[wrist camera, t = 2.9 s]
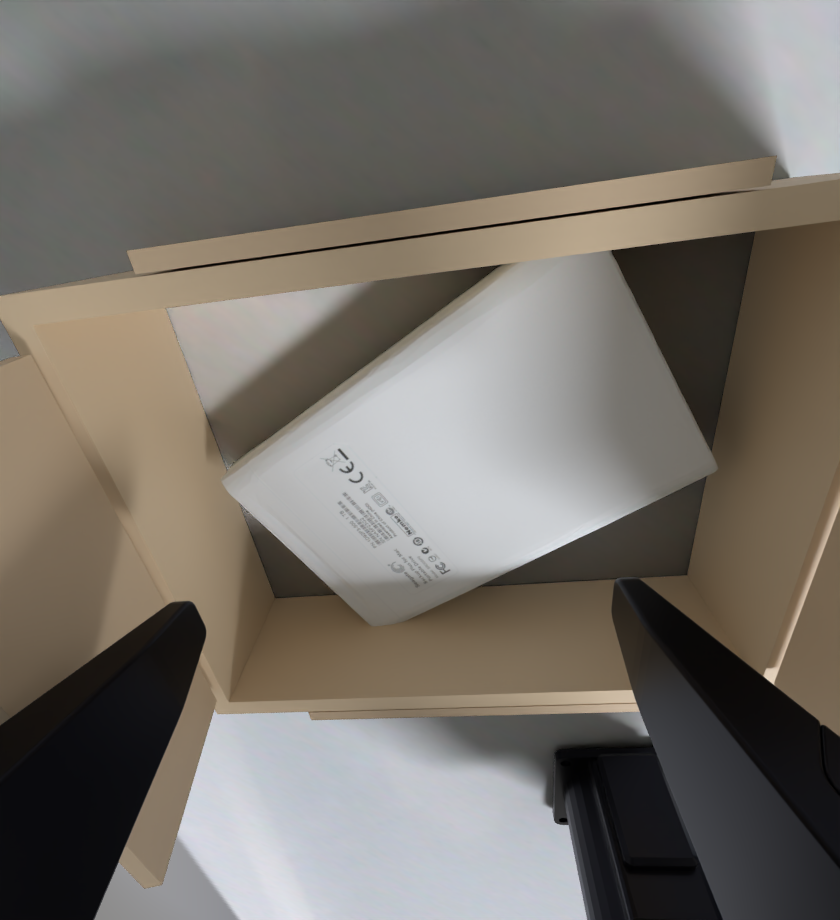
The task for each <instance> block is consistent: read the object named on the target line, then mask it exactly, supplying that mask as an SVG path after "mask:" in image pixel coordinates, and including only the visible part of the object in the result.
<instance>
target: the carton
mask: <svg viewBox="0 0 840 920" xmlns="http://www.w3.org/2000/svg"><path fill="white" fill-rule="evenodd" d="M776 158H777V156H771V157H764V158H757V159H750V160H744V161H737V162H730V163H723V164H716V165H709V166H703V167H696V168H689V169H682V170H675V171H668V172H662V173H655V174H648V175H641V176H634V177H627V178H620V179H614V180H607V181H600V182H593V183H586V184H579V185H573V186H566V187H559V188H552V189H545V190H538V191H532V192H525V193H518V194H511V195H504V196H497V197H491V198H484V199H477V200H470V201H463V202H456V203H450V204H443V205H436V206H429V207H422V208H415V209H409V210H402V211H395V212H388V213H381V214H374V215H368V216H361V217H354V218H347V219H340V220H333V221H327V222H320V223H313V224H306V225H299V226H292V227H286V228H279V229H272V230H265V231H258V232H251V233H245V234H238V235H231V236H224V237H217V238H210V239H204V240H197V241H190V242H183V243H176V244H169V245H162V246H156V247H149V248H142V249H135V250H128V251H126V252H127V254H128V257H129V259H130V262H131V264H132V267H133V269H134V270H133V271H127V272H122V273H117V274H111V275H106V276H101V277H96V278H90V279H85V280H80V281H74V282H69V283H64V284H59V285H53V286H48V287H43V288H37V289H32V290H27V291H22V292H16V293H11V294H6V295H0V320H1V321H2V323H3V325H4V327H5V329H6V331H7V332H8V334H9V336H10V338H11V340H12V341H13V343H14V345H15V347H16V349H17V351H18V352H19V354H20V356H24V355H31V356H32V358H33V360H34V362H35V364H36V365H37V367H38V369H39V371H40V373H41V375H42V377H43V378H44V380H45V382H46V384H47V386H48V388H49V390H50V391H51V393H52V395H53V397H54V399H55V401H56V403H57V404H58V406H59V408H60V410H61V412H62V414H63V416H64V417H65V419H66V421H67V423H68V425H69V427H70V429H71V430H72V432H73V434H74V436H75V438H76V440H77V442H78V443H79V445H80V447H81V449H82V451H83V453H84V455H85V456H86V458H87V460H88V462H89V464H90V466H91V468H92V469H93V471H94V473H95V475H96V477H97V479H98V481H99V482H100V484H101V486H102V488H103V490H104V492H105V494H106V495H107V497H108V499H109V501H110V503H111V505H112V507H113V508H114V510H115V512H116V514H117V516H118V518H119V520H120V521H121V523H122V525H123V527H124V529H125V531H126V533H127V534H128V536H129V538H130V540H131V542H132V544H133V546H134V547H135V549H136V551H137V553H138V555H139V557H140V559H141V560H142V562H143V564H144V566H145V568H146V570H147V572H148V573H149V575H150V577H151V579H152V581H153V583H154V585H155V586H156V588H157V590H158V592H159V594H160V596H161V598H162V599H163V601H164V603H165V605H168V604H169V603H171V602H175V601H191V602H193V603H194V604H195V606H196V608H197V610H198V612H199V614H200V616H201V618H202V620H203V622H204V624H205V626H206V639H205V643H204V646H203V649H202V652H201V655H200V658H199V662H198V666H199V668H200V670H201V672H202V674H203V676H204V678H205V679H206V681H207V683H208V685H209V687H210V689H211V691H212V692H213V694H214V696H215V698H216V700H217V702H216V705H215V711H216V712H217V714H244V713H279V712H308V713H309V715H310V718H311V720H336V719H375V718H414V717H452V716H491V715H530V714H569V713H608V712H640V711H639V708H638V706H637V703H636V700H635V697H634V694H633V691H632V687H631V684H630V680H629V677H628V673H627V670H626V666H625V663H624V659H623V655H622V652H621V648H620V645H619V641H618V638H617V634H616V630H615V627H614V623H613V619H612V613H611V607H612V597H613V588H614V582H615V580H616V579H612V580H594V581H576V582H558V583H540V584H522V585H504V586H486V587H476V588H474V589H472V590H470V591H468V592H466V593H464V594H462V595H459V596H457V597H455V598H453V599H451V600H449V601H447V602H445V603H442V604H440V605H438V606H436V607H434V608H432V609H430V610H428V611H426V612H424V613H421V614H419V615H417V616H415V617H413V618H411V619H409V620H407V621H405V622H401V623H396V624H391V625H384V626H370V625H369V624H368V623H367V622H366V621H365V620H364V619H363V618H362V617H361V616H360V615H359V614H358V613H357V612H355V611H354V610H353V609H352V608H351V607H350V606H349V605H348V604H347V603H346V602H345V601H344V600H343V599H342V598H341V597H340V596H339V595H325V596H307V597H289V598H275V597H274V594H273V591H272V589H271V586H270V583H269V581H268V578H267V576H266V573H265V570H264V568H263V565H262V562H261V560H260V557H259V554H258V552H257V549H256V546H255V544H254V541H253V539H252V536H251V533H250V531H249V528H248V525H247V523H246V520H245V517H244V515H243V512H242V509H241V507H240V504H239V502H238V501H237V500H235V499H234V498H233V497H232V496H231V495H230V494H229V493H228V491H227V490H226V489H225V487H224V486H223V484H222V482H221V478H222V477H223V476H224V475H225V474H226V472H227V470H226V467H225V464H224V462H223V459H222V457H221V454H220V451H219V449H218V446H217V443H216V441H215V438H214V435H213V433H212V430H211V427H210V425H209V422H208V419H207V417H206V414H205V412H204V409H203V406H202V404H201V401H200V398H199V396H198V393H197V390H196V388H195V385H194V382H193V380H192V377H191V375H190V372H189V369H188V367H187V364H186V361H185V359H184V356H183V353H182V351H181V348H180V345H179V343H178V340H177V337H176V335H175V332H174V330H173V327H172V324H171V322H170V319H169V316H168V314H167V311H166V308H171V307H179V306H186V305H194V304H202V303H209V302H217V301H225V300H232V299H240V298H248V297H255V296H263V295H271V294H278V293H286V292H294V291H301V290H309V289H317V288H324V287H332V286H340V285H347V284H355V283H363V282H370V281H378V280H386V279H393V278H401V277H409V276H416V275H424V274H432V273H439V272H447V271H455V270H462V269H470V268H478V267H485V266H493V265H501V264H508V263H516V262H524V261H531V260H539V259H547V258H554V257H562V256H570V255H577V254H585V253H593V252H600V251H608V250H616V249H623V248H631V247H639V246H646V245H654V244H662V243H669V242H677V241H685V240H692V239H700V238H708V237H715V236H723V235H731V234H738V233H746V232H754V231H755V236H754V241H753V246H752V251H751V256H750V261H749V266H748V271H747V276H746V281H745V286H744V291H743V296H742V301H741V306H740V312H739V317H738V322H737V327H736V332H735V337H734V342H733V347H732V352H731V357H730V362H729V367H728V372H727V377H726V382H725V387H724V392H723V397H722V402H721V407H720V412H719V417H718V422H717V427H716V432H715V437H714V442H713V447H712V454H713V457H714V459H715V461H716V463H717V466H718V470H717V471H716V472H715V473H713V474H710V475H708V476H707V478H706V483H705V488H704V493H703V498H702V503H701V508H700V513H699V518H698V523H697V528H696V533H695V538H694V543H693V548H692V553H691V558H690V563H689V568H688V573H687V575H683V576H665V577H647V578H639V579H641V580H642V581H644V582H645V583H646V584H647V585H649V586H650V587H651V588H652V589H654V590H655V591H656V592H657V593H659V594H660V595H661V596H663V597H664V598H665V599H666V600H668V601H669V602H670V603H671V604H673V605H674V606H675V607H676V608H678V609H679V610H680V611H681V612H683V613H684V614H685V615H687V616H688V617H689V618H690V619H692V620H693V621H694V622H695V623H697V624H698V625H699V626H700V627H702V628H703V629H704V630H705V631H707V632H708V633H709V634H711V635H712V636H713V637H714V638H716V639H717V640H718V641H719V642H721V643H722V644H723V645H724V646H726V647H727V648H728V649H729V650H731V651H732V652H733V653H735V654H736V655H737V656H738V657H740V658H741V659H742V660H743V661H745V662H746V663H747V664H748V665H750V666H751V667H752V668H753V669H755V670H756V671H757V672H759V673H760V674H761V675H762V676H764V677H765V678H766V679H767V680H769V681H770V682H771V683H772V684H774V682H775V679H776V676H777V674H778V671H779V668H780V666H781V663H782V660H783V657H784V655H785V652H786V649H787V647H788V644H789V641H790V639H791V636H792V633H793V631H794V628H795V625H796V623H797V620H798V617H799V615H800V612H801V609H802V607H803V604H804V601H805V598H806V596H807V593H808V590H809V588H810V585H811V582H812V580H813V577H814V574H815V572H816V569H817V566H818V564H819V561H820V558H821V556H822V553H823V550H824V548H825V545H826V542H827V539H828V537H829V534H830V531H831V529H832V526H833V523H834V521H835V518H836V515H837V513H838V510H839V507H840V173H834V174H824V175H814V176H803V177H793V178H786V179H779V180H772V177H773V172H774V167H775V162H776ZM774 685H775V684H774Z"/></svg>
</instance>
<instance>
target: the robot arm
mask: <svg viewBox="0 0 840 920" xmlns="http://www.w3.org/2000/svg"><path fill="white" fill-rule="evenodd" d="M611 613H612V619H613V623H614V627H615V630H616V634H617V638H618V641H619V645H620V648H621V652H622V655H623V659H624V663H625V666H626V670H627V673H628V677H629V680H630V684H631V687H632V691H633V694H634V697H635V700H636V703H637V706H638V708H639V711H640V713H641V716H642V718H643V721H644V723H645V726H646V728H647V731H648V733H649V736H650V738H651V741H652V743H653V746H654V748H601V749H562V750H558V751H556V752H555V753H554V772H553V817H554V821H555V823H557V824H560V825H569V829H570V834H571V840H572V845H573V850H574V855H575V860H576V865H577V870H578V875H579V880H580V885H581V890H582V895H583V900H584V905H585V910H586V915H587V920H840V736H838V735H837V734H836V733H835V732H833V731H832V730H831V729H830V728H828V727H827V726H826V725H820V722H819V720H818V719H817V718H815V717H814V716H813V715H812V714H810V713H809V712H808V711H807V710H805V709H804V708H803V707H801V706H800V705H799V704H798V703H796V702H795V701H794V700H793V699H791V698H790V697H789V696H788V695H786V694H785V693H784V692H783V691H781V690H780V689H779V688H777V687H776V686H775V685H774V684H772V683H771V682H770V681H769V680H767V679H766V678H765V677H764V676H762V675H761V674H760V673H759V672H757V671H756V670H755V669H753V668H752V667H751V666H750V665H748V664H747V663H746V662H745V661H743V660H742V659H741V658H740V657H738V656H737V655H736V654H735V653H733V652H732V651H731V650H729V649H728V648H727V647H726V646H724V645H723V644H722V643H721V642H719V641H718V640H717V639H716V638H714V637H713V636H712V635H711V634H709V633H708V632H707V631H705V630H704V629H703V628H702V627H700V626H699V625H698V624H697V623H695V622H694V621H693V620H692V619H690V618H689V617H688V616H687V615H685V614H684V613H683V612H681V611H680V610H679V609H678V608H676V607H675V606H674V605H673V604H671V603H670V602H669V601H668V600H666V599H665V598H664V597H663V596H661V595H660V594H659V593H657V592H656V591H655V590H654V589H652V588H651V587H650V586H649V585H647V584H646V583H645V582H644V581H642V580H641V579H639V578H637V577H627V578H617V579H616V580H615V582H614V588H613V597H612V607H611ZM205 639H206V626H205V624H204V622H203V620H202V618H201V616H200V614H199V612H198V610H197V608H196V606H195V604H194V603H193V602H191V601H175V602H171V603H169V604H168V605H166V606H165V607H164V608H162V609H161V610H159V611H158V612H157V613H155V614H154V615H153V616H151V617H150V618H148V619H147V620H146V621H144V622H143V623H141V624H140V625H139V626H137V627H136V628H134V629H133V630H132V631H130V632H129V633H128V634H126V635H125V636H123V637H122V638H121V639H119V640H118V641H116V642H115V643H114V644H112V645H111V646H109V647H108V648H107V649H105V650H104V651H103V652H101V653H100V654H98V655H97V656H96V657H94V658H93V659H91V660H90V661H89V662H87V663H86V664H84V665H83V666H82V667H80V668H79V669H78V670H76V671H75V672H73V673H72V674H71V675H69V676H68V677H66V678H65V679H64V680H62V681H61V682H59V683H58V684H57V685H55V686H54V687H53V688H51V689H50V690H48V691H47V692H46V693H44V694H43V695H41V696H40V697H39V698H37V699H36V700H34V701H33V702H32V703H30V704H29V705H28V706H26V707H25V708H23V709H22V710H21V711H19V712H18V713H16V714H15V715H14V716H12V717H11V718H9V719H8V720H7V721H5V722H4V723H3V724H1V725H0V920H94V919H95V916H96V914H97V912H98V909H99V907H100V905H101V902H102V900H103V897H104V895H105V893H106V891H107V888H108V886H109V883H110V881H111V879H112V876H113V874H114V872H115V869H116V867H117V865H118V862H119V860H120V858H121V855H122V853H123V850H124V848H125V846H126V843H127V841H128V839H129V836H130V834H131V832H132V829H133V827H134V825H135V822H136V820H137V817H138V815H139V813H140V810H141V808H142V806H143V803H144V801H145V799H146V796H147V794H148V791H149V789H150V787H151V784H152V782H153V780H154V777H155V775H156V773H157V770H158V768H159V766H160V763H161V761H162V758H163V756H164V754H165V751H166V749H167V747H168V744H169V742H170V740H171V737H172V735H173V733H174V730H175V728H176V725H177V723H178V721H179V718H180V716H181V713H182V711H183V708H184V705H185V702H186V699H187V696H188V693H189V690H190V687H191V684H192V681H193V677H194V674H195V671H196V668H197V665H198V662H199V658H200V655H201V652H202V649H203V646H204V643H205Z"/></svg>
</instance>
